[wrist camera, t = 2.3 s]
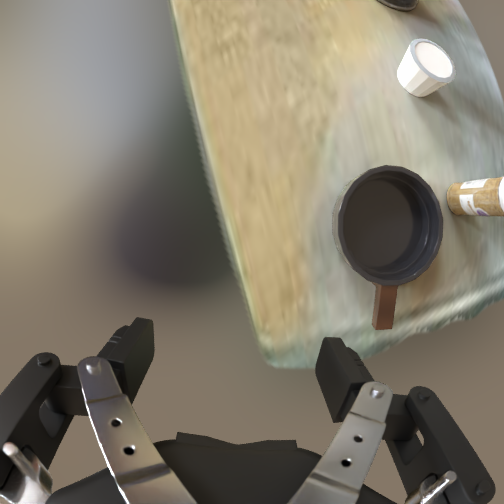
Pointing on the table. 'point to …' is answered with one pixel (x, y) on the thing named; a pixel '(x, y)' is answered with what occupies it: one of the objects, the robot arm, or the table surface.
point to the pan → (388, 225)
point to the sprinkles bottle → (477, 197)
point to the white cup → (425, 68)
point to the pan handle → (384, 306)
